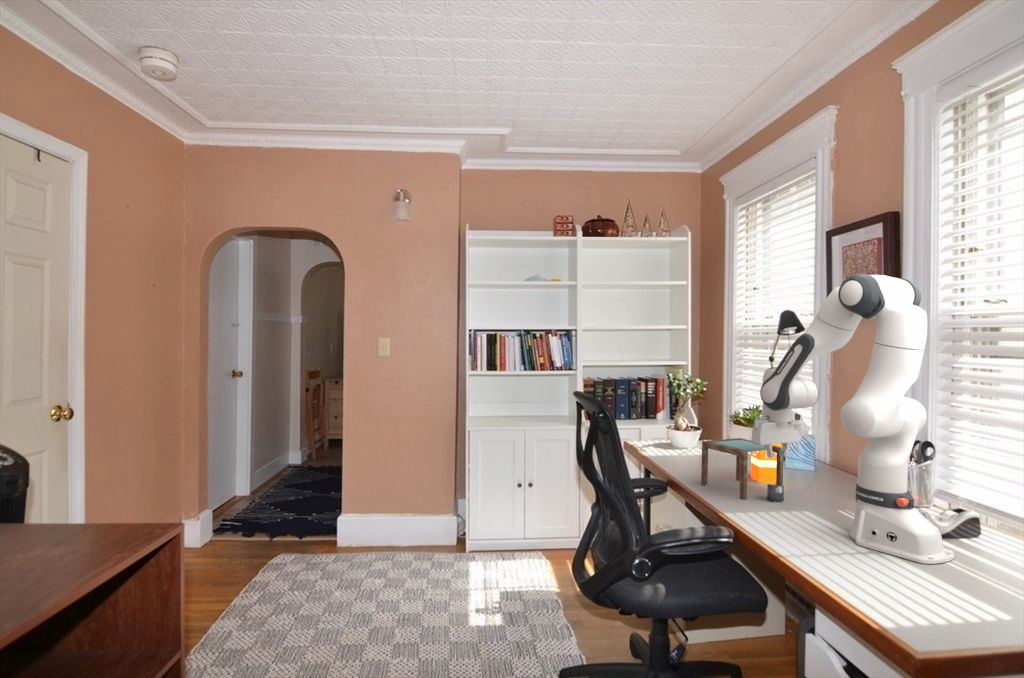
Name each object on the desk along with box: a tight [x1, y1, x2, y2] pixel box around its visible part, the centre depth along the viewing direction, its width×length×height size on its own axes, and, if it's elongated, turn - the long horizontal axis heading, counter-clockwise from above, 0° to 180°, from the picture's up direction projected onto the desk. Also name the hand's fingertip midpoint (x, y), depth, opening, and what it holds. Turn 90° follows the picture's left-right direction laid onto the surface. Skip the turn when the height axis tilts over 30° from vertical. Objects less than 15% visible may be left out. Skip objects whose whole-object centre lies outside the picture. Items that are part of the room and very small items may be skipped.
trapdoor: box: [712, 440, 772, 453], centre depth 195 cm, size 14×14×1 cm
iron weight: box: [766, 483, 785, 503], centre depth 182 cm, size 5×5×5 cm
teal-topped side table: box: [700, 437, 784, 500], centre depth 195 cm, size 19×19×16 cm
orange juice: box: [750, 444, 782, 484], centre depth 207 cm, size 8×9×20 cm
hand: (776, 456), depth 181 cm, fingers open, 5 cm apart
